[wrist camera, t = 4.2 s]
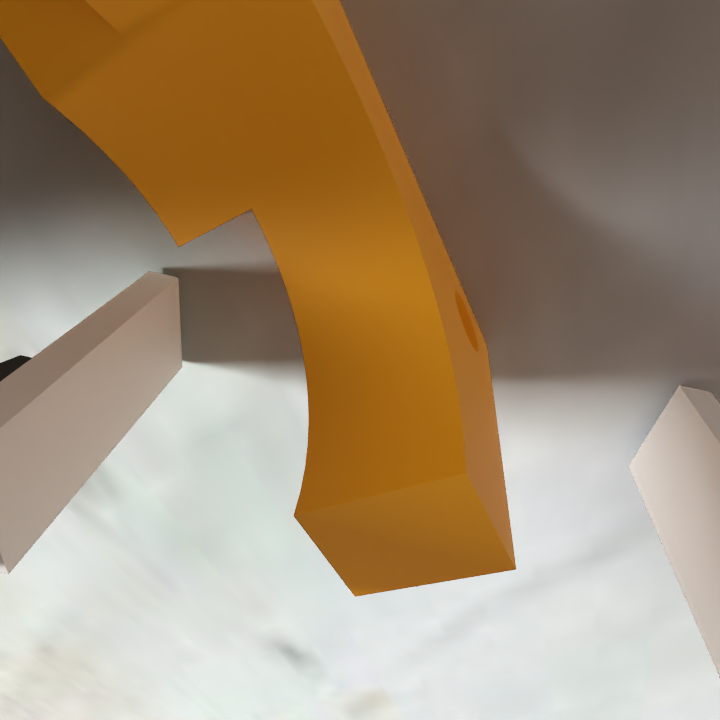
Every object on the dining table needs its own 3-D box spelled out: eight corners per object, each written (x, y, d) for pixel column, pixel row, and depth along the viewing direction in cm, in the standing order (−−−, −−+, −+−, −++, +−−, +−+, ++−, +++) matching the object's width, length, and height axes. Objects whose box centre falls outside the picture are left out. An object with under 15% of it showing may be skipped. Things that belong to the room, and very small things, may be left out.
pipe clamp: (25, -115, 9) (-612, -361, 4) (211, -304, 7) (-408, -1221, 2) (336, 393, 14) (265, 611, 9) (486, 342, 12) (516, 569, 7)
